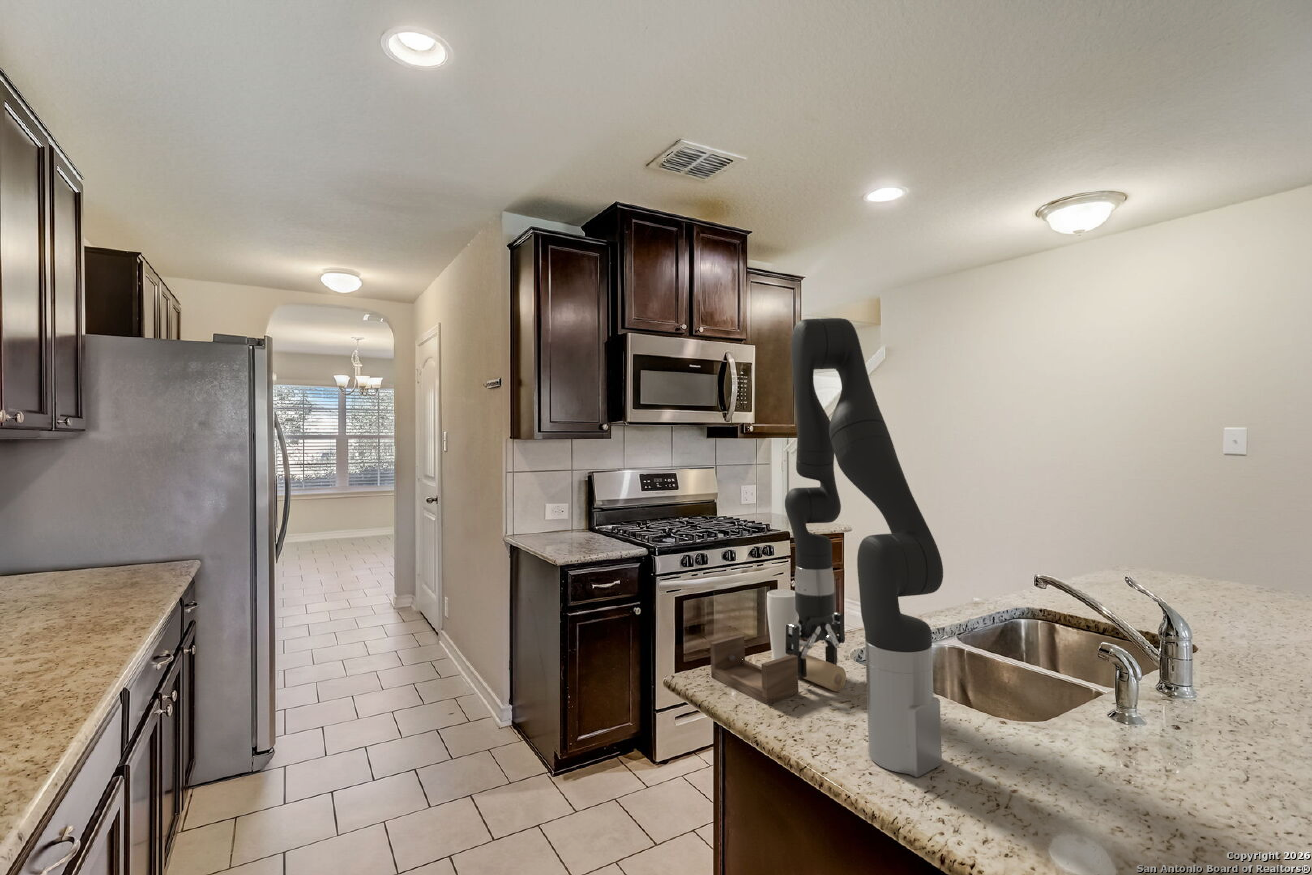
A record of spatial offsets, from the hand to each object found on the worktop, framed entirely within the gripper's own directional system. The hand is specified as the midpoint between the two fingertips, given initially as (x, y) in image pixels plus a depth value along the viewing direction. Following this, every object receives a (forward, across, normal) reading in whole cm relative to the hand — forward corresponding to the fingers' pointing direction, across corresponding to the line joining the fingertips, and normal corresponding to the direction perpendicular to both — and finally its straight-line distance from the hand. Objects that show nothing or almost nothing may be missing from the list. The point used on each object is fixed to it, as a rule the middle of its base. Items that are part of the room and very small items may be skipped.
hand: (816, 670), depth 120 cm
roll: (+2, 0, 0) cm, 2 cm away
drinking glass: (+2, +2, +10) cm, 11 cm away
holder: (+2, -11, +6) cm, 13 cm away
